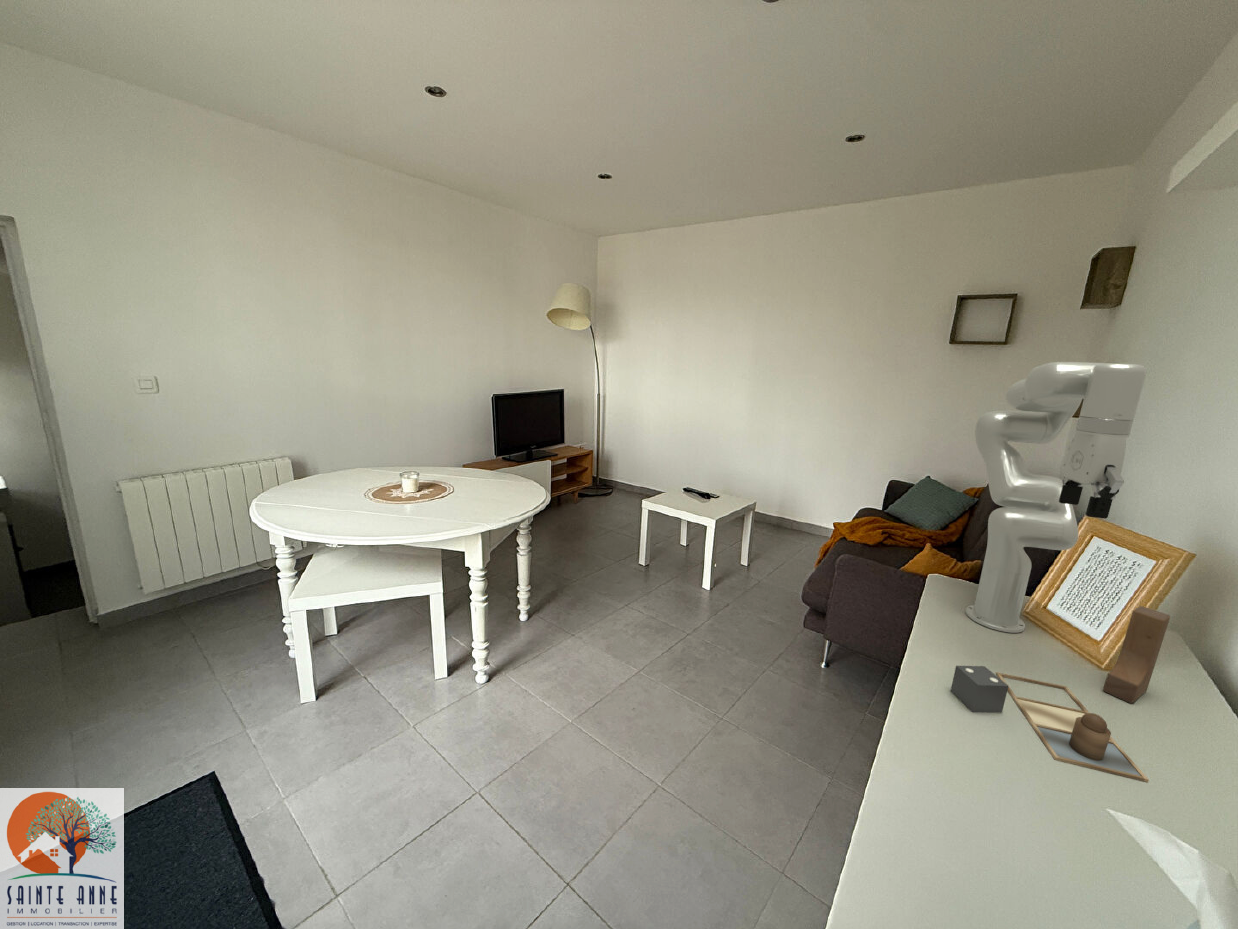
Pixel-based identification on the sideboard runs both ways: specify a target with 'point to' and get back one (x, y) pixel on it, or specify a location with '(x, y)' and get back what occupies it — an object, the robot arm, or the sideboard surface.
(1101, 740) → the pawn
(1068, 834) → the sideboard surface
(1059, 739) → the board
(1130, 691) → the wooden block
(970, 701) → the die
